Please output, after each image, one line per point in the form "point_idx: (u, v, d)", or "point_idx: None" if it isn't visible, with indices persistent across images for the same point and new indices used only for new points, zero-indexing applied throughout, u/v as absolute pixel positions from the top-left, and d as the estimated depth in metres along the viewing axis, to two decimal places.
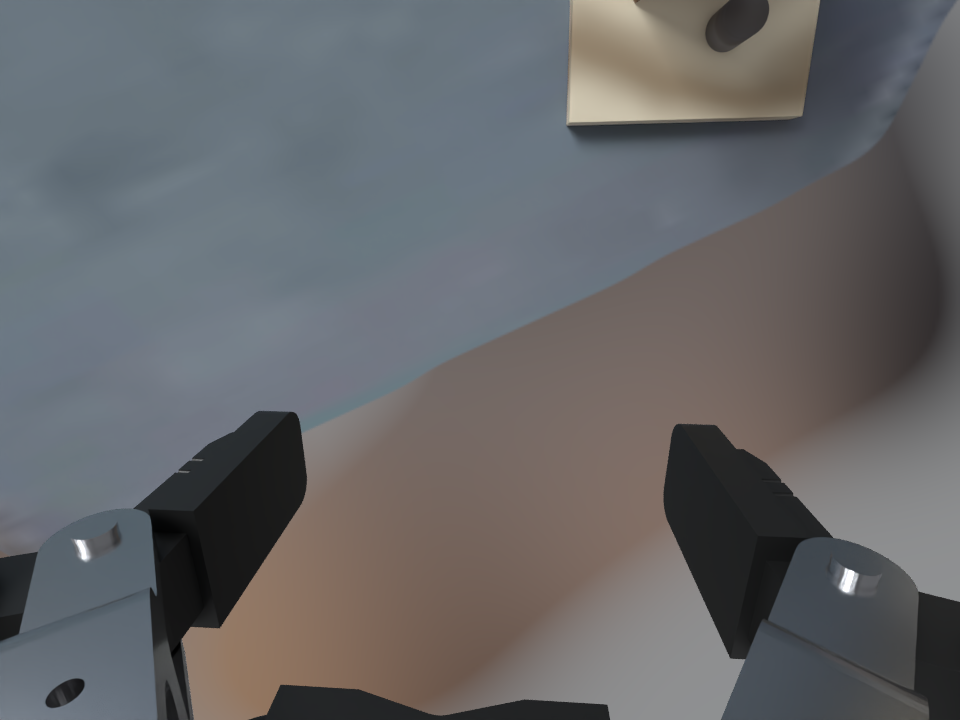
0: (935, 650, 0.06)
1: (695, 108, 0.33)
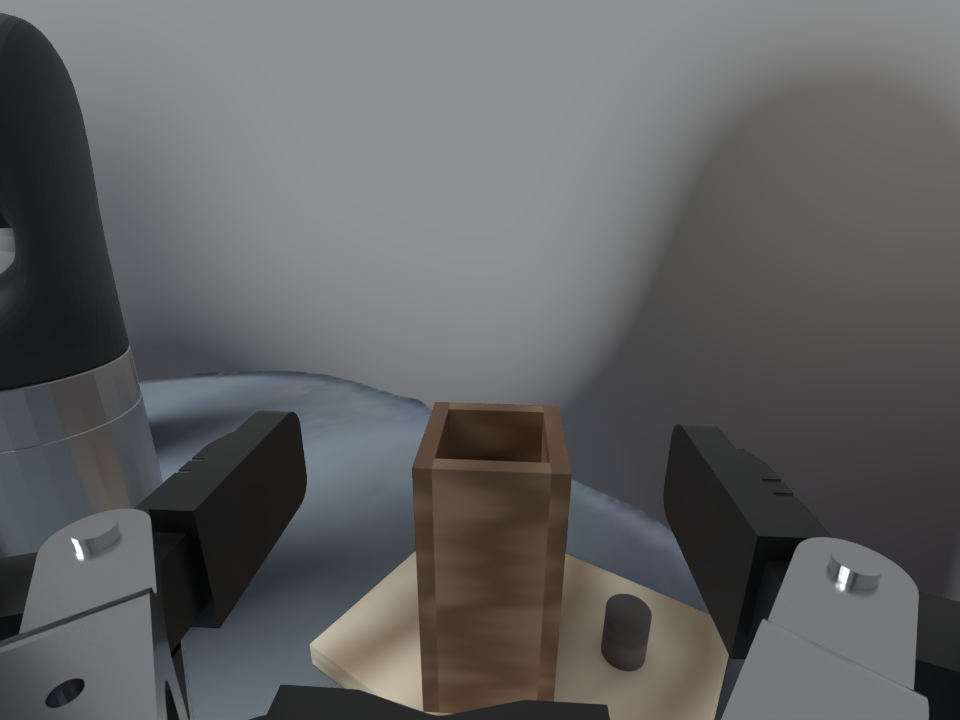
0: (935, 650, 0.06)
1: (700, 715, 0.25)
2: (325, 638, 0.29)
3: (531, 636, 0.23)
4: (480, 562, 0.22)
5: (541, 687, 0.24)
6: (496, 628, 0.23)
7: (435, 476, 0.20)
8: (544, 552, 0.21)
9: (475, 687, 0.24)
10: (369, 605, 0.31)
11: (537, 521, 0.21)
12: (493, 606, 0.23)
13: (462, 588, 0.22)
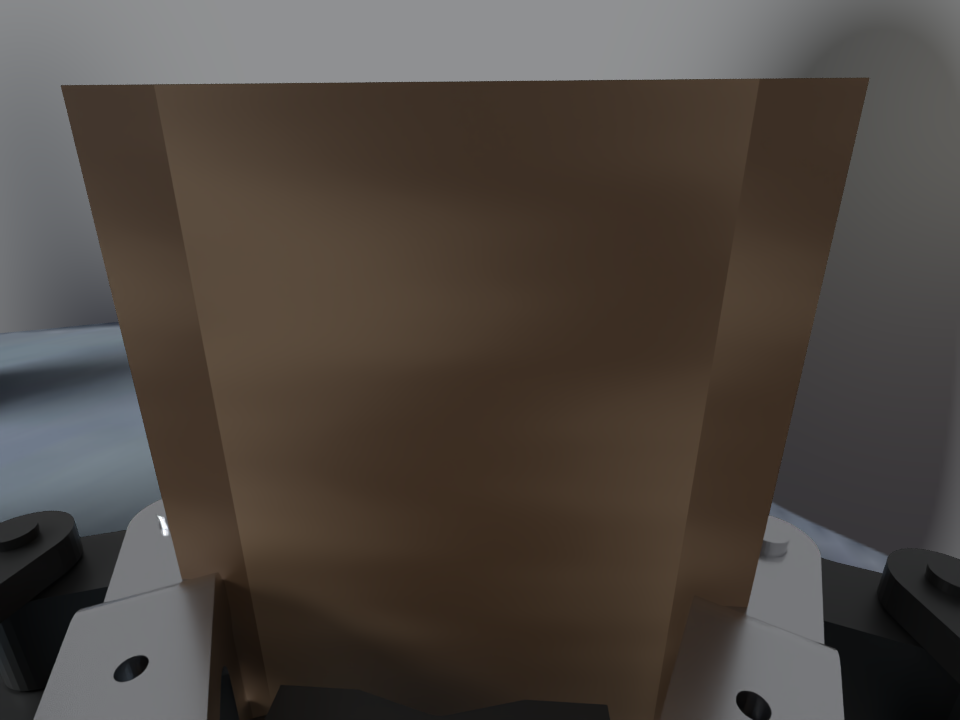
0: (834, 610, 0.06)
1: None
2: None
3: None
4: (417, 551, 0.06)
5: None
6: None
7: (179, 131, 0.04)
8: (680, 508, 0.05)
9: None
10: None
11: (662, 363, 0.05)
12: None
13: (358, 650, 0.06)
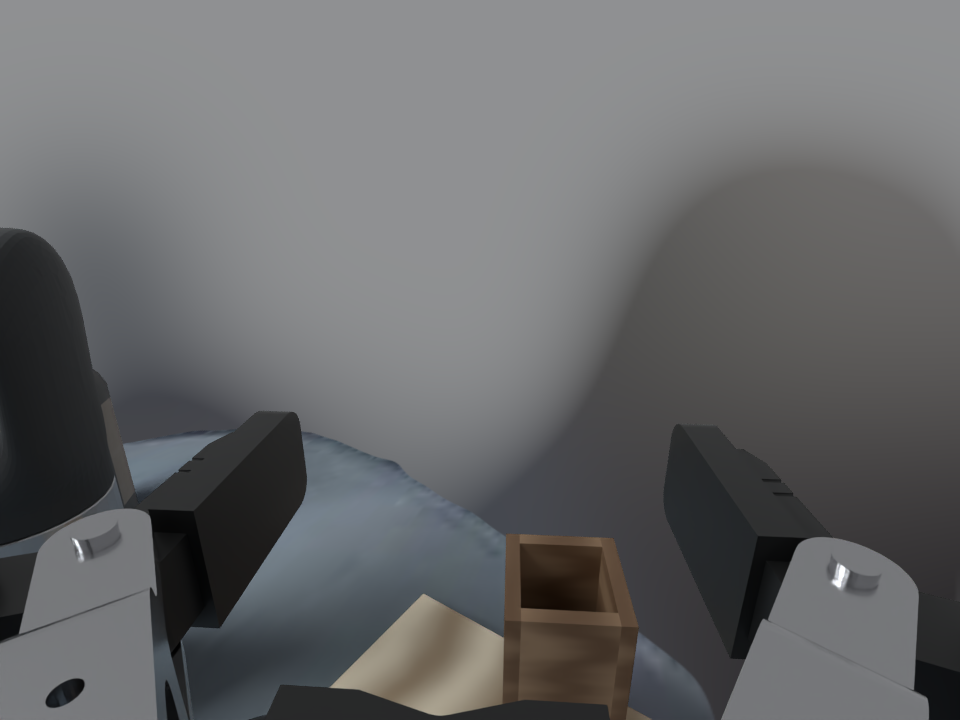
0: (935, 650, 0.06)
1: None
2: None
3: None
4: (557, 692, 0.26)
5: None
6: None
7: (524, 626, 0.24)
8: (612, 685, 0.25)
9: None
10: None
11: (608, 661, 0.25)
12: None
13: None
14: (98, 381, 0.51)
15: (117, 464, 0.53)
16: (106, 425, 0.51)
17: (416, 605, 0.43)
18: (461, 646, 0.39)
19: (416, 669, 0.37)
